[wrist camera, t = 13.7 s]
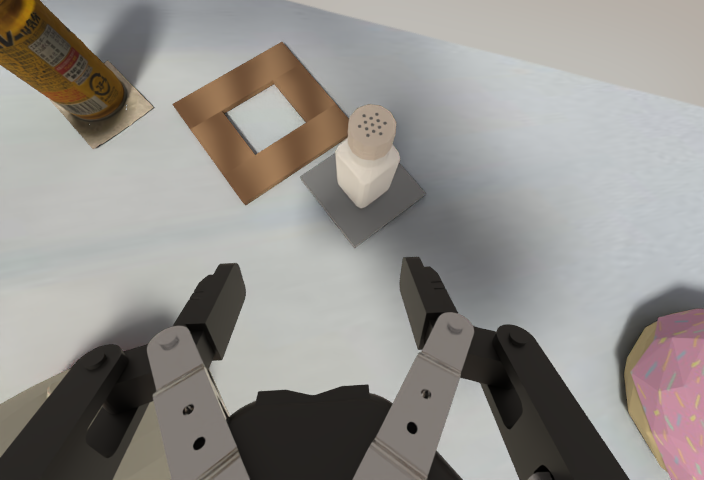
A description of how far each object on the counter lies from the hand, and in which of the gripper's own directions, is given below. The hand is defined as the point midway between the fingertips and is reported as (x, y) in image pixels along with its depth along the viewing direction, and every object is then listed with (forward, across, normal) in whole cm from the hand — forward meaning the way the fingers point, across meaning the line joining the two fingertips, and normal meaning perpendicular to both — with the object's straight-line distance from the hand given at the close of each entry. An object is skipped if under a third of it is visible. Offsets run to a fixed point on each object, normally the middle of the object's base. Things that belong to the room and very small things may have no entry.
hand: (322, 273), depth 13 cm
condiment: (+24, +24, -5) cm, 34 cm away
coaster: (+15, -4, +2) cm, 16 cm away
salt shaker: (+15, -4, +2) cm, 15 cm away
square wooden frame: (+21, +6, -4) cm, 23 cm away
